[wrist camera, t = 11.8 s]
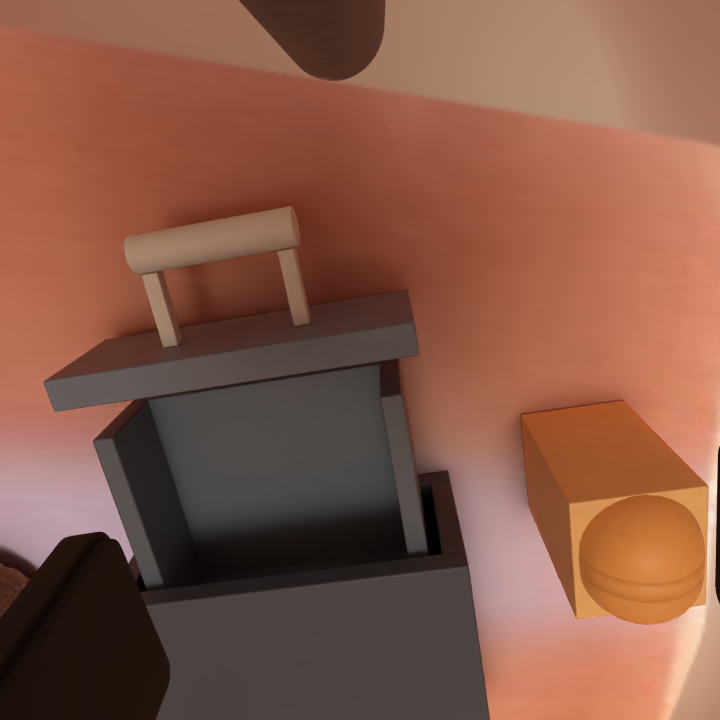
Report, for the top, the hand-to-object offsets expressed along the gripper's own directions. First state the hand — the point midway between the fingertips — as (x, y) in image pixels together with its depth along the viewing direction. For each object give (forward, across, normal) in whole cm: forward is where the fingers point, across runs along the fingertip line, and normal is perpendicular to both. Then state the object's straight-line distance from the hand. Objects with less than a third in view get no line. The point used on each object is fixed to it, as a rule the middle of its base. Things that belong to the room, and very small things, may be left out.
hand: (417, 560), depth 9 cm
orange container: (+16, -7, +9) cm, 20 cm away
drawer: (+16, +6, +4) cm, 17 cm away
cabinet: (+16, +6, +16) cm, 24 cm away
